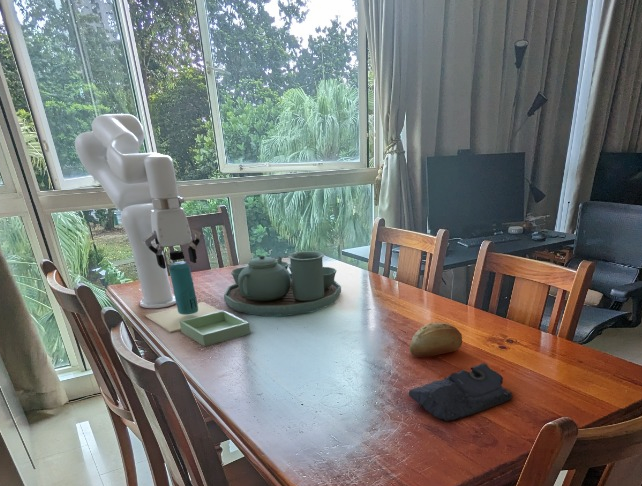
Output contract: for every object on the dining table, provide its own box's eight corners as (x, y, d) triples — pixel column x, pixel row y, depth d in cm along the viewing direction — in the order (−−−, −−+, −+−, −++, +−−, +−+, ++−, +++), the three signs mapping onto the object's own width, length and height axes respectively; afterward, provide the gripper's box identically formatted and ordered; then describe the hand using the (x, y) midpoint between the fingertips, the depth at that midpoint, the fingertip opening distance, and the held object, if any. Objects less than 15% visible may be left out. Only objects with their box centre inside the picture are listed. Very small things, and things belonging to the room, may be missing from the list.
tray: (181, 331, 152) (179, 321, 150) (225, 320, 160) (223, 310, 158) (204, 346, 142) (202, 335, 140) (250, 333, 150) (249, 322, 148)
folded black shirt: (398, 397, 114) (398, 378, 111) (470, 373, 124) (472, 354, 121) (443, 426, 102) (445, 406, 100) (519, 397, 113) (522, 377, 110)
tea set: (349, 284, 192) (348, 238, 183) (325, 320, 158) (322, 265, 150) (249, 281, 198) (243, 237, 189) (205, 315, 164) (196, 263, 156)
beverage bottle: (194, 319, 159) (181, 254, 149) (174, 318, 160) (160, 253, 150) (203, 313, 165) (191, 249, 154) (184, 312, 166) (171, 248, 155)
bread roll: (470, 354, 133) (473, 325, 129) (420, 365, 128) (422, 335, 124) (450, 342, 141) (453, 314, 136) (402, 351, 136) (403, 322, 131)
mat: (145, 316, 165) (145, 315, 164) (203, 303, 175) (202, 301, 175) (171, 333, 151) (170, 331, 151) (231, 317, 162) (230, 315, 162)
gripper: (189, 199, 152) (199, 257, 162) (131, 206, 143) (145, 267, 152) (200, 202, 148) (210, 262, 157) (141, 209, 138) (155, 272, 147)
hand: (178, 264), depth 154 cm, fingers open, 9 cm apart
